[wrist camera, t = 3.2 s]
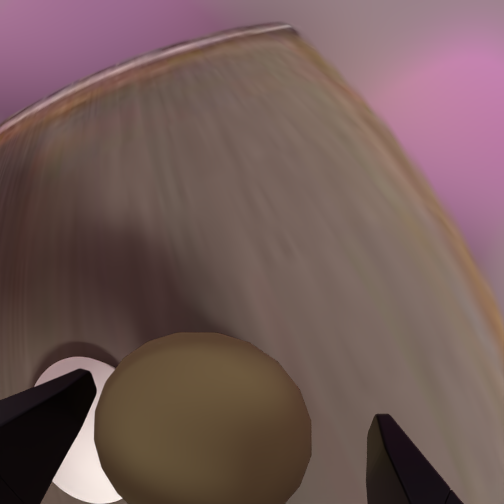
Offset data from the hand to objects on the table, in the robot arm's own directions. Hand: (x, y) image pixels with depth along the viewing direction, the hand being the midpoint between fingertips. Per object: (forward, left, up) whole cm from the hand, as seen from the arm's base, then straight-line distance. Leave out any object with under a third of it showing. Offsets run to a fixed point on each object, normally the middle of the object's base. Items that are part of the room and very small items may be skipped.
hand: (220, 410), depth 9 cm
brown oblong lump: (-1, 0, -8) cm, 8 cm away
